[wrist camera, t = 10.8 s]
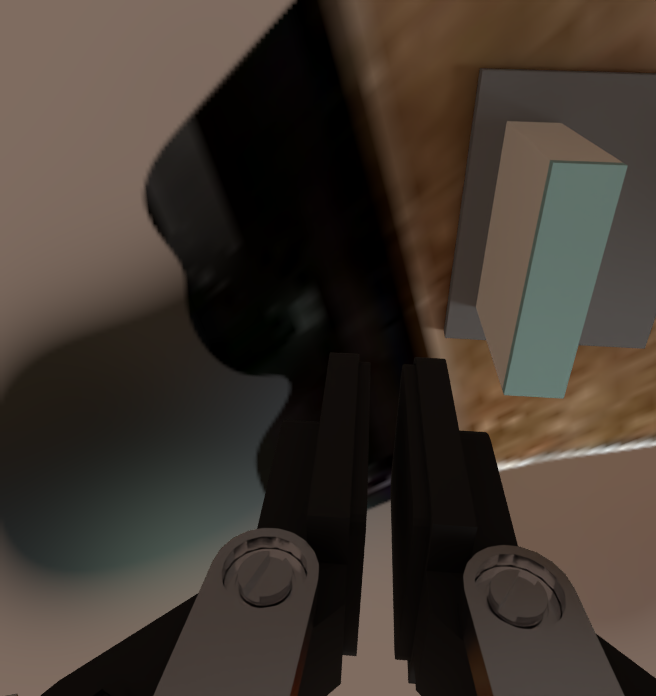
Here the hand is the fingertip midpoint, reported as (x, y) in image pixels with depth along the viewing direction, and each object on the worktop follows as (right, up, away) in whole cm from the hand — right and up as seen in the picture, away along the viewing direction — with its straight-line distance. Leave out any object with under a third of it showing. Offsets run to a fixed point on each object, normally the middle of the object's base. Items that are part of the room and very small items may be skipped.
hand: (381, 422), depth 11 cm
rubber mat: (+8, +6, +11) cm, 15 cm away
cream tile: (+6, +6, +11) cm, 13 cm away
